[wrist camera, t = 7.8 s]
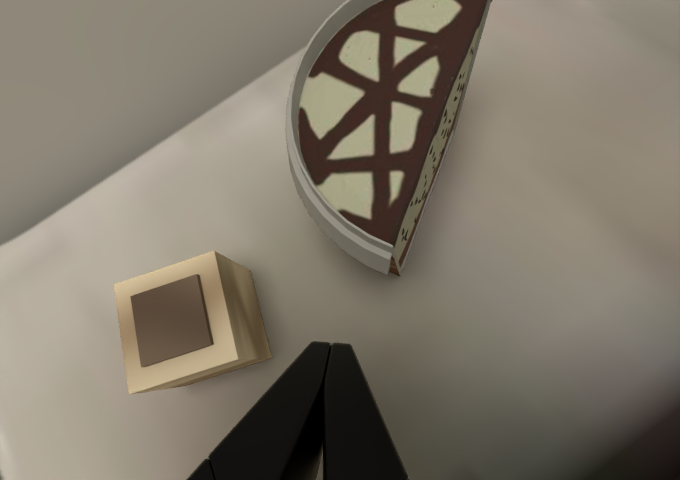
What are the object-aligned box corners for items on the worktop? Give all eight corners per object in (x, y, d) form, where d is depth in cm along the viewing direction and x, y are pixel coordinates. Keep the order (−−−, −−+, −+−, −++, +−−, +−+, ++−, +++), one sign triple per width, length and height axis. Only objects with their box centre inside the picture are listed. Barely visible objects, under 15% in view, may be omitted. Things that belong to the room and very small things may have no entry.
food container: (366, 82, 26) (349, -77, 16) (463, 108, 25) (505, -48, 15) (288, 262, 23) (214, 200, 14) (390, 301, 22) (385, 263, 13)
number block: (272, 357, 22) (235, 359, 17) (185, 385, 22) (124, 395, 17) (250, 271, 24) (211, 249, 19) (170, 298, 24) (109, 283, 19)
